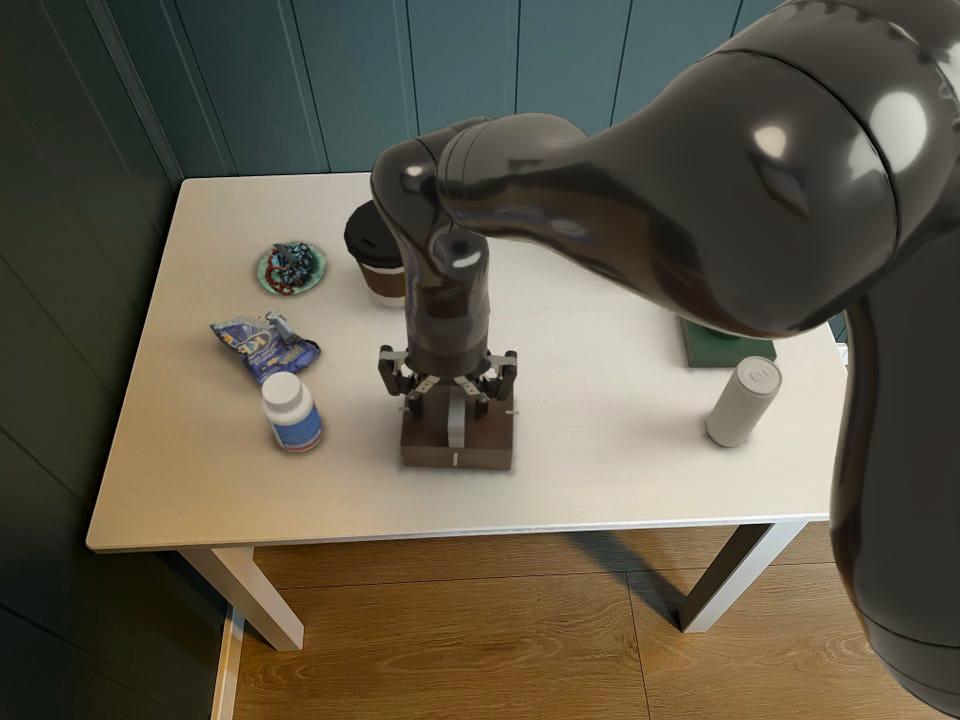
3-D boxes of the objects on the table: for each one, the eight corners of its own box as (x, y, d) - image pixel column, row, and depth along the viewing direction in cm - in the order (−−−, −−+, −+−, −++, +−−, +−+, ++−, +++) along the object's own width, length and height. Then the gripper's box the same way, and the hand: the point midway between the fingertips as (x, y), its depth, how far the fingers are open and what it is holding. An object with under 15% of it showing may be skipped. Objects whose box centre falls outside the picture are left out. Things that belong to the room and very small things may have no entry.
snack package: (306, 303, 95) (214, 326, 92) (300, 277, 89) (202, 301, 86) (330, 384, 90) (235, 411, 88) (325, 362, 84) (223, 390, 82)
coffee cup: (402, 337, 92) (393, 275, 82) (338, 296, 95) (322, 231, 85) (456, 284, 96) (454, 218, 86) (393, 246, 100) (384, 180, 90)
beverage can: (698, 418, 85) (727, 361, 75) (734, 408, 86) (768, 350, 76) (717, 454, 83) (750, 400, 73) (755, 442, 84) (793, 387, 74)
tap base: (517, 385, 88) (519, 362, 83) (516, 487, 80) (518, 467, 76) (407, 382, 88) (404, 358, 84) (396, 483, 81) (392, 463, 76)
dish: (329, 270, 94) (276, 239, 91) (301, 313, 96) (248, 284, 94) (331, 249, 101) (282, 220, 98) (305, 290, 103) (256, 262, 101)
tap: (463, 447, 77) (463, 426, 73) (448, 447, 77) (447, 426, 73) (467, 376, 82) (467, 352, 78) (453, 376, 82) (452, 352, 78)
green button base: (771, 366, 89) (782, 348, 86) (689, 367, 89) (698, 348, 86) (749, 290, 96) (759, 270, 93) (673, 291, 96) (681, 271, 93)
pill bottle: (333, 428, 84) (318, 383, 76) (300, 462, 82) (281, 419, 74) (300, 403, 86) (281, 357, 78) (266, 436, 84) (244, 391, 76)
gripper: (362, 349, 64) (379, 437, 78) (527, 356, 64) (514, 443, 78) (372, 282, 68) (387, 377, 82) (526, 289, 68) (514, 383, 82)
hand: (449, 409), depth 80 cm, fingers open, 6 cm apart
